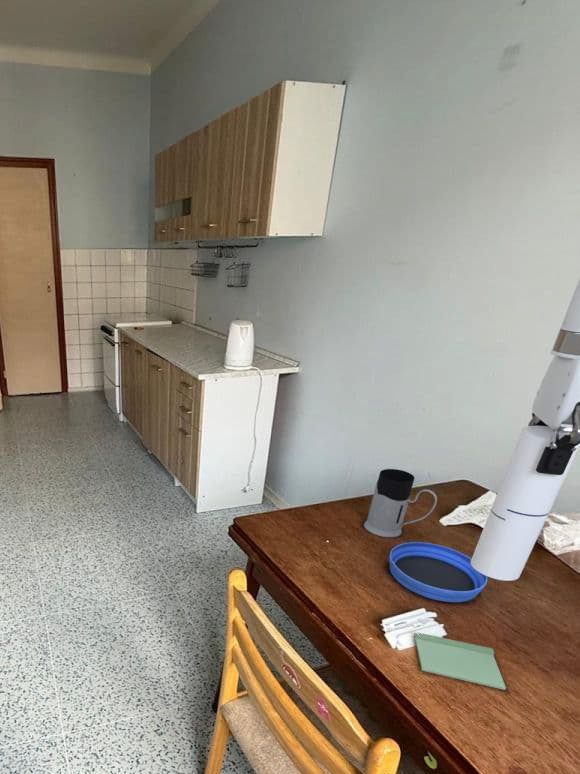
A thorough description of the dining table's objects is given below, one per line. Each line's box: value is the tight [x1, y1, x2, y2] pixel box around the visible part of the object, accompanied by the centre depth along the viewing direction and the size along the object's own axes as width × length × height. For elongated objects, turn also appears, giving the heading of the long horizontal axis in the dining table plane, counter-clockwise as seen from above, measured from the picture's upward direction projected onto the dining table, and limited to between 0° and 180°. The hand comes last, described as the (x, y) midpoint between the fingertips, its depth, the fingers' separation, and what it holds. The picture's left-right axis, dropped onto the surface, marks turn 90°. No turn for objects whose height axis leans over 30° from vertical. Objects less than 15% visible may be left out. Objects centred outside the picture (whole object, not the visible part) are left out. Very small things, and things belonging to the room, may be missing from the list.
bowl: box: [388, 541, 488, 603], centre depth 102 cm, size 18×18×4 cm
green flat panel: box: [413, 631, 507, 691], centre depth 82 cm, size 12×9×1 cm
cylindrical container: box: [471, 425, 580, 582], centre depth 77 cm, size 7×7×25 cm
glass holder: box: [363, 468, 438, 538], centre depth 116 cm, size 9×14×15 cm, turn 39°
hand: (539, 462), depth 73 cm, fingers closed on cylindrical container, 7 cm apart
